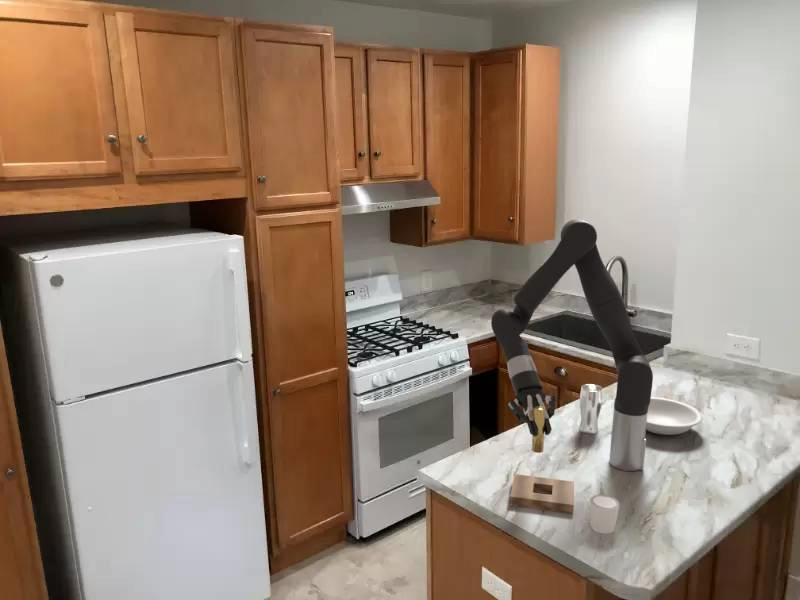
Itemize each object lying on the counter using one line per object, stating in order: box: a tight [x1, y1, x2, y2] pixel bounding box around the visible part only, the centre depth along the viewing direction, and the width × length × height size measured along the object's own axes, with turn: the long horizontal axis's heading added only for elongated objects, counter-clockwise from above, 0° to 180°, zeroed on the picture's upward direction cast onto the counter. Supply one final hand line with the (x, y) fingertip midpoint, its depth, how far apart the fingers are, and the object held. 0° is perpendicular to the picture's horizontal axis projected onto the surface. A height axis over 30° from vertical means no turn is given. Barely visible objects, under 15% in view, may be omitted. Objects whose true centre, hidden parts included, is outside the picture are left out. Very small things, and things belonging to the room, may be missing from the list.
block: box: [509, 473, 575, 515], centre depth 169 cm, size 16×12×2 cm
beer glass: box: [578, 383, 603, 435], centre depth 208 cm, size 7×7×15 cm
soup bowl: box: [646, 396, 703, 436], centre depth 209 cm, size 24×24×7 cm
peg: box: [531, 406, 545, 454], centre depth 168 cm, size 3×3×12 cm
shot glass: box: [589, 494, 620, 535], centre depth 155 cm, size 7×7×7 cm
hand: (542, 434), depth 166 cm, fingers closed on peg, 3 cm apart
